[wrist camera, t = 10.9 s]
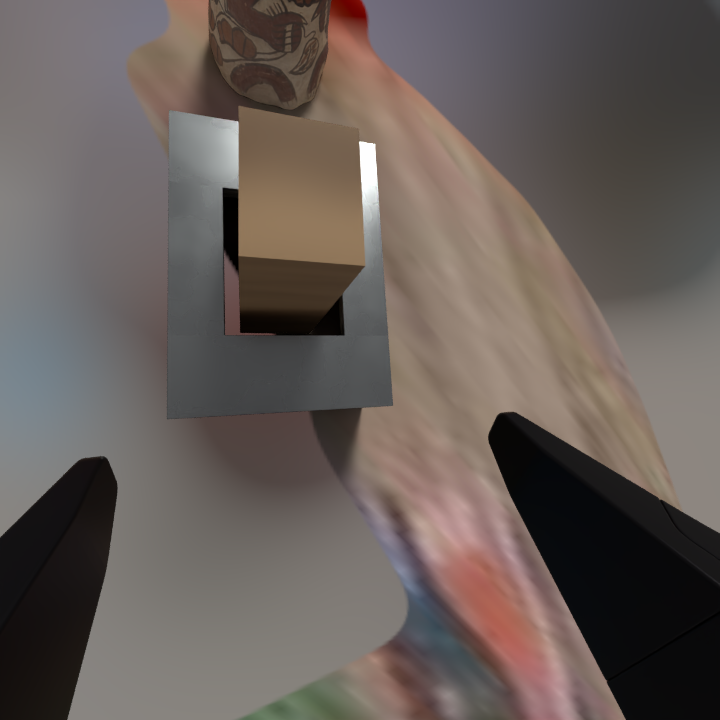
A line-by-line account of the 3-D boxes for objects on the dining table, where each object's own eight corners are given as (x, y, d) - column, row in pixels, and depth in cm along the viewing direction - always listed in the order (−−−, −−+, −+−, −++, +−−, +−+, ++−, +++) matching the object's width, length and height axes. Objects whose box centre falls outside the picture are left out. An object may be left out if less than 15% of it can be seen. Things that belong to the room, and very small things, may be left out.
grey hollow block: (362, 407, 23) (393, 405, 18) (184, 418, 20) (166, 419, 15) (349, 195, 25) (374, 144, 20) (184, 175, 22) (169, 110, 17)
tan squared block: (309, 334, 23) (365, 265, 12) (240, 332, 22) (238, 256, 11) (307, 255, 23) (359, 128, 13) (240, 250, 22) (238, 105, 12)
